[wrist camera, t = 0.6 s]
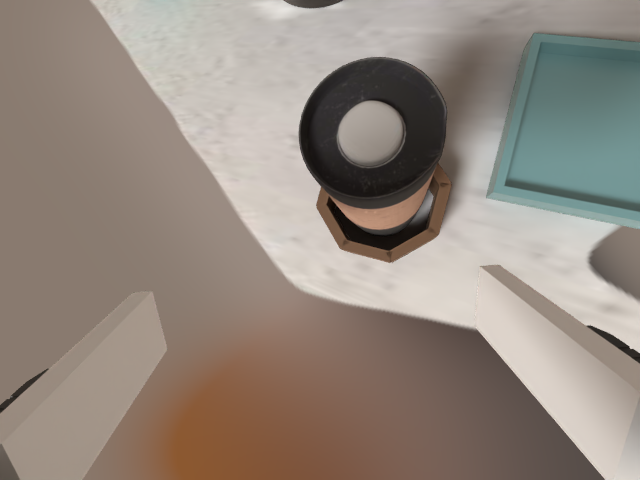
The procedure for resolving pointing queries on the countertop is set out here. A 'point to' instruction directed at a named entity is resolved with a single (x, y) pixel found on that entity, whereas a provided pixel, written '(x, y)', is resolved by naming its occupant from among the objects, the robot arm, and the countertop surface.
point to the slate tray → (573, 130)
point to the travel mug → (374, 140)
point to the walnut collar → (440, 191)
